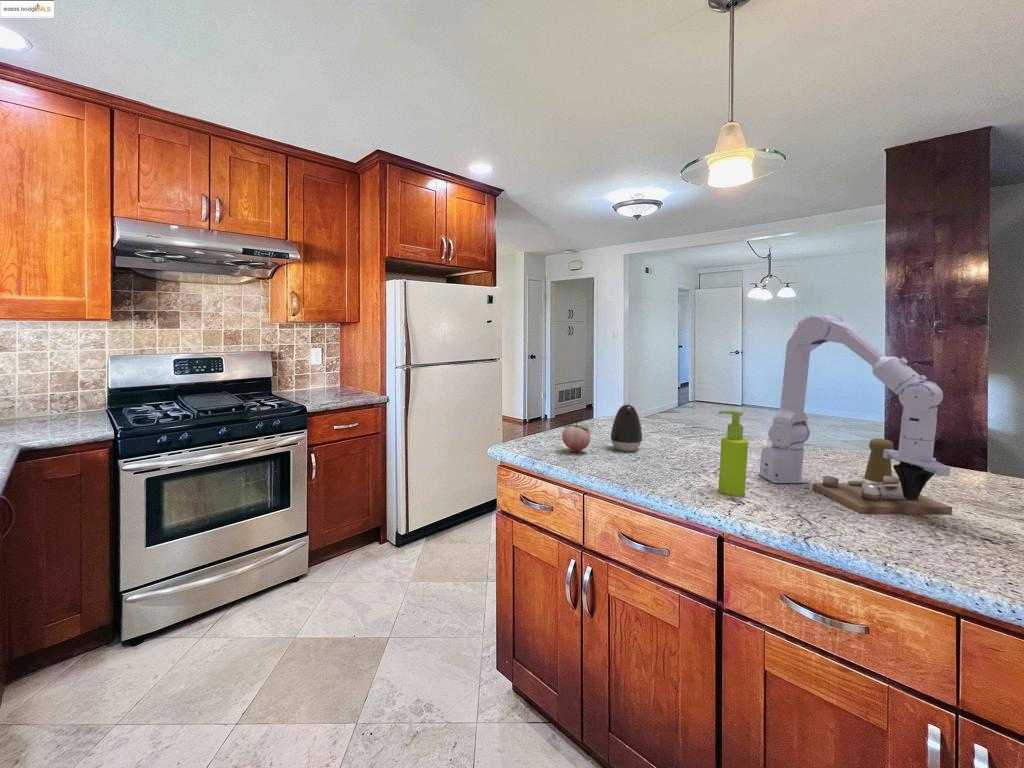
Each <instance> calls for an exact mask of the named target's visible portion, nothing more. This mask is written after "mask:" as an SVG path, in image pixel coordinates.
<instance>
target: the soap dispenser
mask: <svg viewBox="0 0 1024 768" xmlns="http://www.w3.org/2000/svg"><path fill="white" fill-rule="evenodd" d="M717 412H718V414H719V415H723V414H725V415H731V423H729V424H727V430H726V431H727V433H726V434H727V435H726V436H723V437H721V441H720V454H719V455H720V456H719V457H720V459H719V473H718V475H719V476H718V492H719V493H721V494H723V495H727V496H733V497H742V496H744V495H746V481H747V464H748V452H749V451H748V449H749V440H748V439H745V438H744V437H743V436H744V425H742V424H741V416H743V415H744V412H743V411H737V410H732V409H729V410H728V409H726V410H719V411H717Z"/></svg>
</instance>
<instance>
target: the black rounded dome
mask: <svg viewBox="0 0 1024 768" xmlns="http://www.w3.org/2000/svg"><path fill="white" fill-rule="evenodd" d="M610 439H611V442H612V445H613V447H614V448H615V449H616V450H618V451H620V452H634V451H636V450H637V449H639V448H640V446H641V443H642V441H643V431H642V425H641V421H640V417H639V414H638V412H637V410H636V408H635V407H634V406H633V405H631V404H623V405H621V406H620V407H619V408H618V411H617V412H616V414H615V416H614V419H613V422H612V427H611V431H610Z"/></svg>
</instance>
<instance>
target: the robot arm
mask: <svg viewBox="0 0 1024 768" xmlns="http://www.w3.org/2000/svg"><path fill="white" fill-rule="evenodd" d="M828 342H831V343H836V344H837V343H838V344H843V345H844V346H845V347H847V348H848V349H849V350H851V351H852V352H853V353H854V354H856V355H857V356H858V357H860V358H861V359H862V360H864V361H865V362H866V363H868V364H869V365H870V366H872V375H873V376H874V377H876V379H878V381H880V382H881V383H882V384H884V385H885V386H886V387H887V388H888V389H889V390H891V391H892V393H894V394H896V395H898V401H899V402H900V404H901V406H903V407H902V415H901V423H900V425H901V426H900V432H899V440H898V441H899V442H898V450H896V449H893V450H892V449H884V453H883V457H884V458H890V459H891V460H893V461H896V462H898V464H893V467H892V468H893V470H894V472H895V473H896V475H897V477H898V478H899V480H900V484H901V487H902V492H903V496H904V498H906V499H909V500H917V499H918V497H919V495H921V493H922V490H923V489H924V487H925V486H926V484H927V482H928V481H929V480H930V479H931V478H933V476H935V475H936V476H938V477H950V475H951V468H952V467H951V466H948V465H945V464H943V463H941V462H939V461H937V458H935V457H934V448H935V441H936V440H935V439H936V432H937V424H938V422H937V421H938V418H937V417H938V416H937V415H938V406H939V405H940V404H941V403H942V401H943V398H944V391H943V390H942V389H941V388H940V386H939V385H938V383H936V382H933V381H930V380H928V381H926V380H927V377H926V376H925V375H923V374H922V375H920V374H919V373H917V372H916V371H915V370H913V368H911V366H909V365H908V363H909V361H908V360H907V359H905V358H899V357H897V356H886V354H884V353H883V352H882V351H881V350H879V349H878V348H877V346H875V345H874V344H873V343H872V342H871V341H870V340H869V339H867V338H866V337H865V336H864V335H863V334H862V333H860V331H858V330H857V328H855V327H854V326H853V325H852V324H851V323H850V322H848V321H845V320H844V319H843V318H842V317H841V316H838V314H837V315H836V314H829V315H828V314H827V315H826V314H820V313H819V314H818V313H813V314H809V315H807V316H806V317H804V318H803V319H801V320H800V321H798V322H797V326H796V329H795V330H794V331H793V333H792V335H791V337H790V338H789V339H788V341H787V342H786V349H785V356H784V357H785V360H784V367H783V378H782V389H781V397H780V407H779V410H778V412H777V413H776V414H775V415H774V417H773V420H772V421H773V422H772V424H771V426H770V427H769V429H768V432H767V433H768V434H767V435H768V439H769V441H770V442H771V444H772V445H769V446H765V447H763V448H762V450H761V452H760V461H759V462H760V465H759V472H758V473H757V474H758V476H761V477H762V478H765V479H766V480H768V481H770V482H771V483H773V484H810V480H807V479H805V478H803V477H802V476H803V467H804V465H803V464H804V455H805V454H804V452H805V451H804V450H805V442H807V441H808V439H809V437H810V435H811V430H810V428H809V424H808V416H807V414H806V413H805V403H806V394H807V386H808V377H809V376H808V374H809V367H810V357H811V352H812V351H814V350H815V349H816V348H818V347H819V346H821V345H823V344H824V343H825V344H826V343H828Z"/></svg>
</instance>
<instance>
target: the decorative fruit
mask: <svg viewBox="0 0 1024 768" xmlns="http://www.w3.org/2000/svg"><path fill="white" fill-rule="evenodd" d="M590 431H591V429H590V428H589V427H588V426H587V425H584V424H578V421H576V422H575V424H573V423H571V424H566V425H565V426H563V431H562V435H561V440H562V442H563V444H564V445H565V446H566V447H567V448H568V449H570V450H572V451H573V452H575V453H578V452H581V451H582V450H584V449H585V448H587V447H588V446H589V445H590V442H591V433H590Z"/></svg>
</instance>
